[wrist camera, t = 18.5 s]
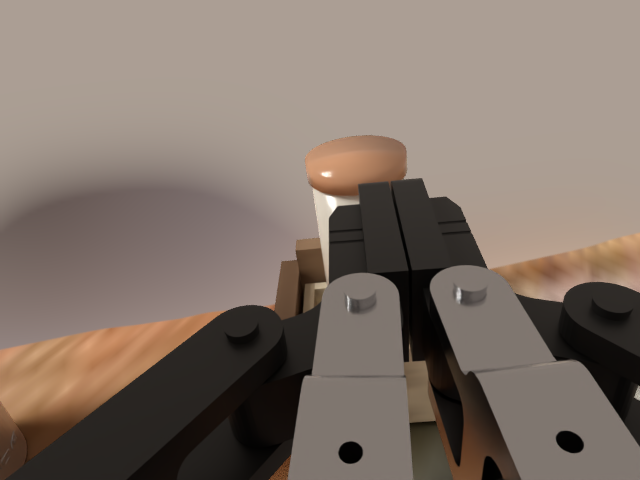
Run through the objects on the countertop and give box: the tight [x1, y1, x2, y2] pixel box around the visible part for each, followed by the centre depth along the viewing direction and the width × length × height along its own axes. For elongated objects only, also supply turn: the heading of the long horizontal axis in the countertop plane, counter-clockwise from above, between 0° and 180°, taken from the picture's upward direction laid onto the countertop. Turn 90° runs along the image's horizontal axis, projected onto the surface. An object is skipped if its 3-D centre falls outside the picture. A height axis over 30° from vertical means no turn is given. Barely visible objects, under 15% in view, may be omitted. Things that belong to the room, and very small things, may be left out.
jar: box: [305, 135, 407, 286], centre depth 32 cm, size 6×6×15 cm
